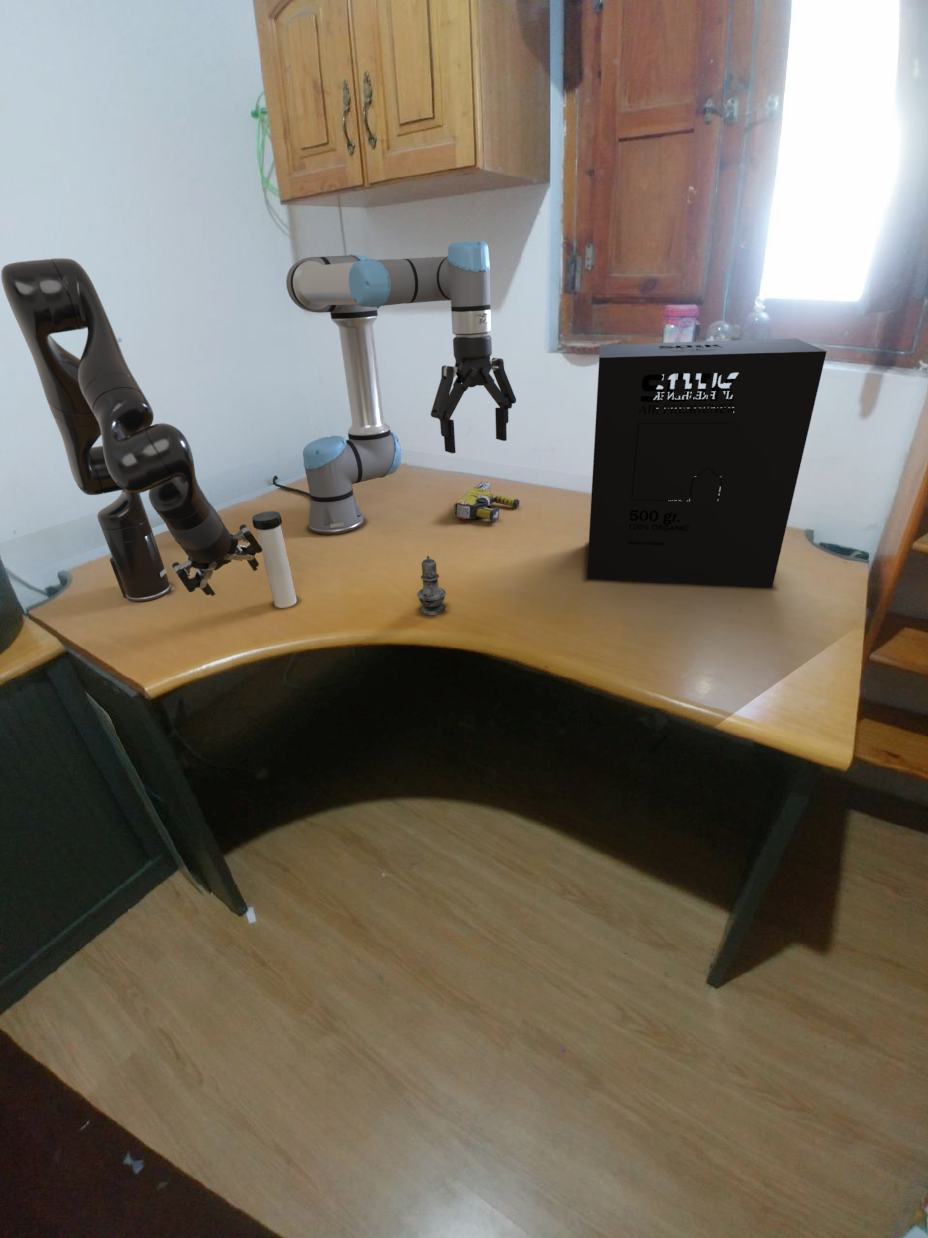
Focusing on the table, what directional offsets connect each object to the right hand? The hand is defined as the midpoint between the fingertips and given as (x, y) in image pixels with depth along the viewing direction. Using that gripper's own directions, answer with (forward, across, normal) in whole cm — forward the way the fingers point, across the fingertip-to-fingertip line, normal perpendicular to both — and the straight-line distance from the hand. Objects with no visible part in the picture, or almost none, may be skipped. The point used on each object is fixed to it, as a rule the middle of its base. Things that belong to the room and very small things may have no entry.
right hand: (476, 445), depth 127 cm
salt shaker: (+28, -20, -10) cm, 36 cm away
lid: (+9, -43, +14) cm, 46 cm away
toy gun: (+28, +26, +28) cm, 47 cm away
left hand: (+14, -54, +3) cm, 56 cm away
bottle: (+28, -43, +14) cm, 53 cm away
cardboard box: (+28, +33, -29) cm, 52 cm away
